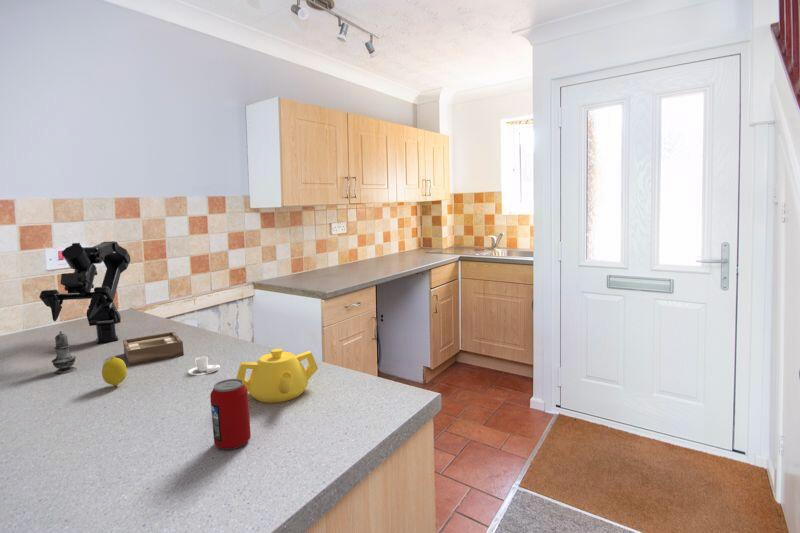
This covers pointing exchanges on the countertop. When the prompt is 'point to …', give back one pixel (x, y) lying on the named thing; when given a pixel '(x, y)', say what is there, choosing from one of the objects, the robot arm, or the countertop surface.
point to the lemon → (114, 371)
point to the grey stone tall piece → (63, 355)
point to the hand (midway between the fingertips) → (71, 319)
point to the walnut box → (152, 348)
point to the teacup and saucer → (203, 366)
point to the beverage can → (230, 414)
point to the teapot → (277, 375)
